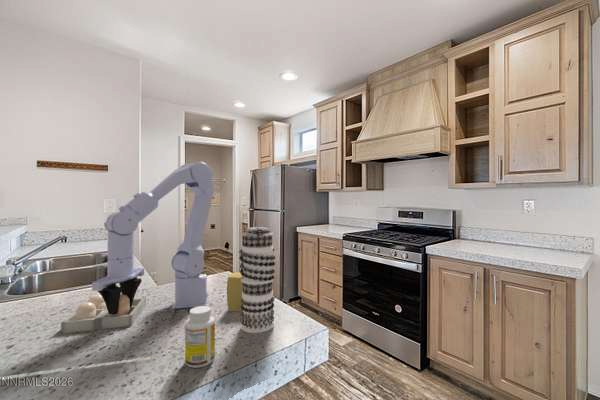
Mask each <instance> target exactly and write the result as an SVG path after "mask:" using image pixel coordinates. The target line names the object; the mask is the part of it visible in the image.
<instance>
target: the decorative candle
mask: <svg viewBox="0 0 600 400" xmlns="http://www.w3.org/2000/svg"><path fill="white" fill-rule="evenodd" d="M241 234H242V245H241V249H239V254H240V256H239V260H240V262H241V263H240V265H239V267H240V271H239V272H240V273H241V275H242V277H241V281H242V282H243V291H242V298H241V303H242V305H241V309H242V311H240V314H239V315H240V317H241V318H240V323H241V324H240V328H241V330H242V331H243V332H246V333H251V334H260V333H265V332H268V331H270V330H271V329H273V327H274V326H275V325H274V324H275V322H274V321H275V320H274V319H275V316H274V315H275V310H274V306H275V303H274V301H275V297H274V289H273V281H274V280H275V276H274V275H273V274H275V272H276V271H275V269H273V267H274V266H276V262H275V261H274V260H275V259H276V256H275V255H273V252H274V251H275V248H274V244H273V235H275V234H274V233H273V232H272V231H271V229H270V228H269V227H265V226H263V227H262V226H253V227H252V226H251V227H247V228H246V229H245V231H244V233H241Z"/></svg>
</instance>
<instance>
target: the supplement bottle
mask: <svg viewBox="0 0 600 400" xmlns="http://www.w3.org/2000/svg"><path fill="white" fill-rule="evenodd" d="M211 314H212V312H211V307H210V306H207V305H205V306H198V307H191V308H190V310H189V315H188V317H189V318H188V319H187V320H186V321H185V323H184V329H185V331H184V341H185V342H184V349H185V350H184V353H185V355H184V361H185V364H186V366H188V367H189V368H194V369H197V368H203V367H206V366H208V365H210V364H211V363H212V362H213V361H214V359H215V356H216V354H215V353H216V351H215V350H216V344H215V343H216V341H215V340H216V333H215V329H216V328H215V326H216V325H215V324H216V322H215V321H216V320H215V317H214V316H212V315H211Z"/></svg>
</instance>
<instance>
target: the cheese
mask: <svg viewBox="0 0 600 400" xmlns="http://www.w3.org/2000/svg"><path fill="white" fill-rule="evenodd" d="M241 277H242V275H241V273H240V271H237V272H236V271H235V272H232V273H230V274H229V275H228V277H227V281H226V282H227V283H226V302H227V310H228V312H241V311H242V309H241V305H242V303H241V298H242V291H243V282H242V281H241Z"/></svg>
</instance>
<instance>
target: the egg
mask: <svg viewBox="0 0 600 400" xmlns="http://www.w3.org/2000/svg"><path fill="white" fill-rule="evenodd" d="M129 313H130V300H129V297H128V296H126V295H122V294H121V295H120V299H119V309H118V313H117V314H111V316H122V315H129Z"/></svg>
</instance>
